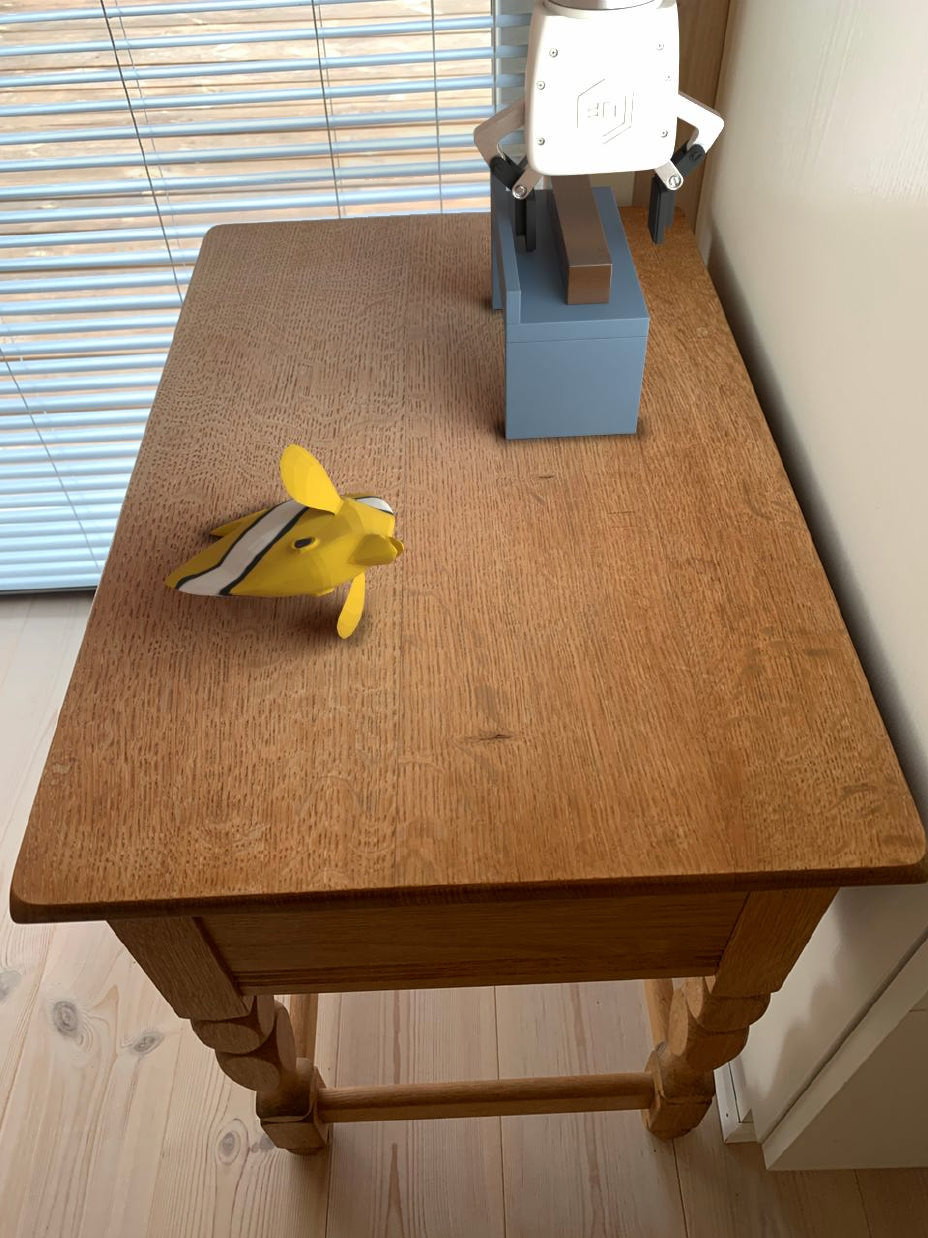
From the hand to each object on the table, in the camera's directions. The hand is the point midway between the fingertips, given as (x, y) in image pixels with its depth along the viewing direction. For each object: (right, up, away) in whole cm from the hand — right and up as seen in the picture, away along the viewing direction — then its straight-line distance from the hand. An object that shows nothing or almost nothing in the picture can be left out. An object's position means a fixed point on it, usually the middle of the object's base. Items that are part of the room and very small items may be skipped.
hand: (592, 239), depth 74 cm
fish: (-21, -27, -8) cm, 35 cm away
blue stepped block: (-2, -7, +8) cm, 11 cm away
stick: (-1, 0, +1) cm, 1 cm away
